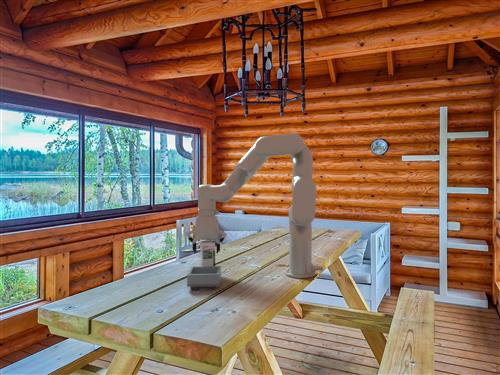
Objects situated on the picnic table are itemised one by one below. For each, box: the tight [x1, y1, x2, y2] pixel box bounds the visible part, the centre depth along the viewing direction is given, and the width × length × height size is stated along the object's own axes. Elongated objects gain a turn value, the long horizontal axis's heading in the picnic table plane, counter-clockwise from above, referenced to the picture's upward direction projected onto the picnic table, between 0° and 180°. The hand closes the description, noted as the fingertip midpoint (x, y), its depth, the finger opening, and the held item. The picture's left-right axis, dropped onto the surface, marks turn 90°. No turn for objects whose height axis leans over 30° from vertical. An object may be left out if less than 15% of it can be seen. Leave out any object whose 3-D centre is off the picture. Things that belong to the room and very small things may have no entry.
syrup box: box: [199, 240, 216, 266], centre depth 162 cm, size 6×6×14 cm
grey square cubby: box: [186, 265, 222, 291], centre depth 147 cm, size 12×12×6 cm
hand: (206, 252), depth 162 cm, fingers open, 9 cm apart
